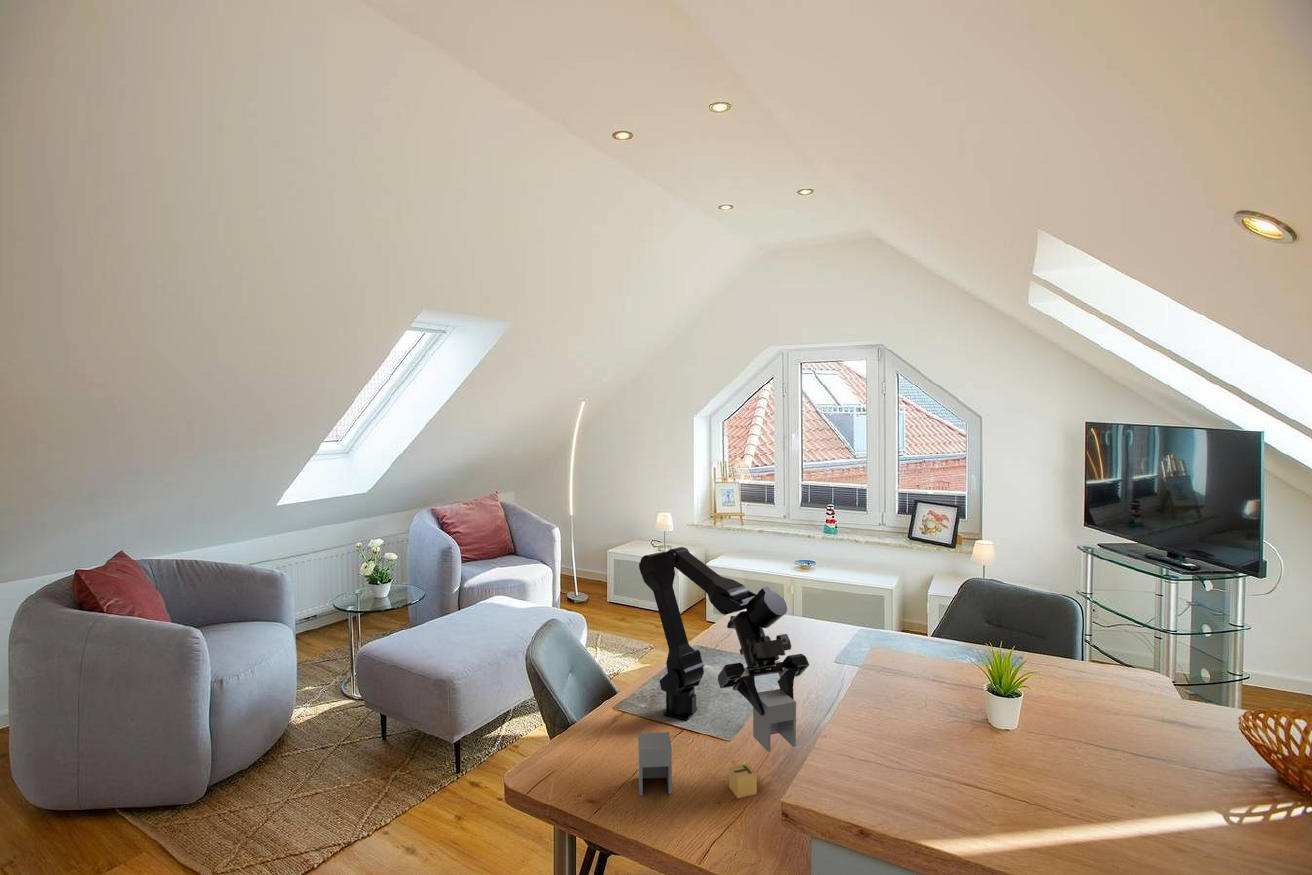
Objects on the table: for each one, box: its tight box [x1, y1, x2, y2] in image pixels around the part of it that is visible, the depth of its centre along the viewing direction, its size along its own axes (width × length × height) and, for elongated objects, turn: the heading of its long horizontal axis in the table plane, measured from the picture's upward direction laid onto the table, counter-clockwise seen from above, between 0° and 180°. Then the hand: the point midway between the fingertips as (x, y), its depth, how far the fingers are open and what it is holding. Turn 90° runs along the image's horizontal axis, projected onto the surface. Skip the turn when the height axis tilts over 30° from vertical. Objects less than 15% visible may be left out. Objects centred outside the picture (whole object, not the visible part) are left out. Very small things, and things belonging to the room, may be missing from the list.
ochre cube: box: [728, 763, 758, 799], centre depth 125 cm, size 4×4×4 cm
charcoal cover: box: [752, 688, 797, 753], centre depth 130 cm, size 6×6×9 cm
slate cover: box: [637, 731, 673, 797], centre depth 127 cm, size 6×6×9 cm
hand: (777, 712), depth 129 cm, fingers closed on charcoal cover, 6 cm apart
